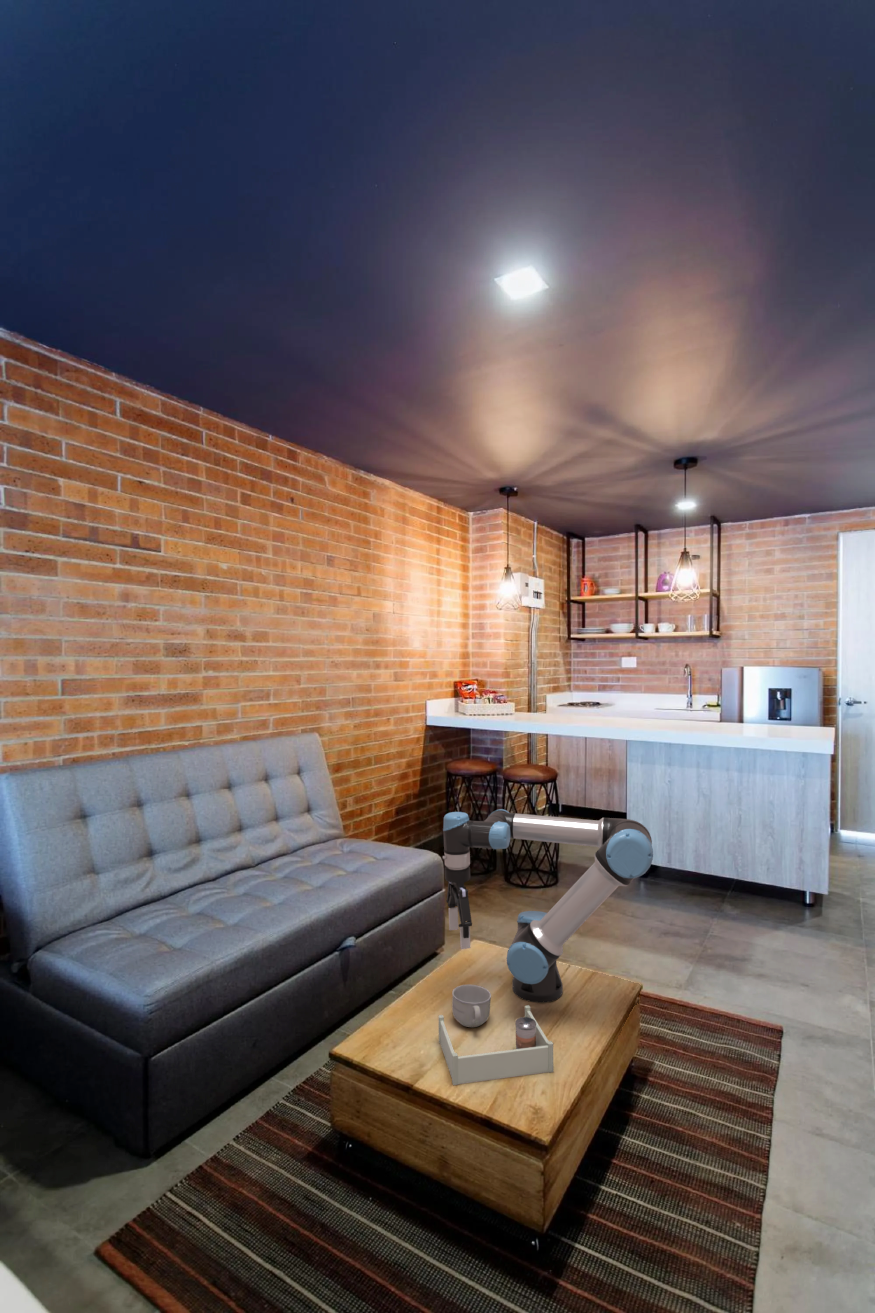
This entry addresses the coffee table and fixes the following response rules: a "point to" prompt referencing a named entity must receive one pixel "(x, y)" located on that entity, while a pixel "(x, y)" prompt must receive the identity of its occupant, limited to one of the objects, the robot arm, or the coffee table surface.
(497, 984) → the coffee table surface
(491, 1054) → the crate
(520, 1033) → the tin can
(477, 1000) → the teacup
